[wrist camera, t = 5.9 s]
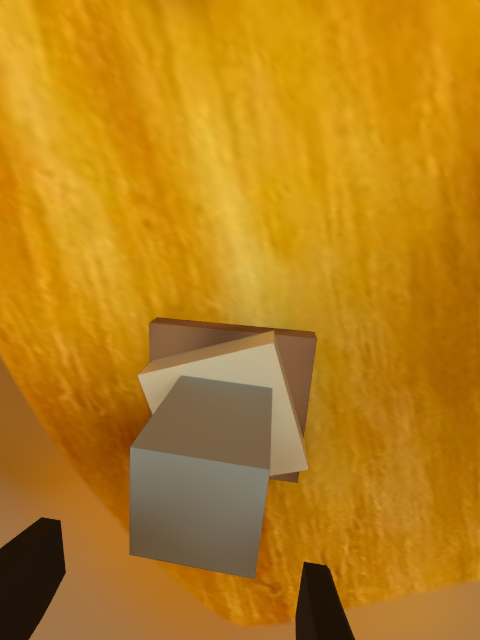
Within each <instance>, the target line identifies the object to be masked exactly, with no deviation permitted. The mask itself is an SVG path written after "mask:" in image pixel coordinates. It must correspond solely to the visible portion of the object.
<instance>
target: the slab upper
mask: <svg viewBox="0 0 480 640" xmlns="http://www.w3.org/2000/svg"><path fill="white" fill-rule="evenodd" d="M181 375H183V376H190V377H197V378H204V379H211V380H218V381H225V382H233V383H240V384H247V385H254V386H261V387H268V388H272V421H271V455H270V474H269V476H273V475H279V474H286V473H292V472H298V471H304V470H309V468H308V461H307V454H306V447H305V442H304V438H303V435H302V431H301V428H300V424H299V420H298V417H297V413H296V409H295V406H294V402H293V398H292V395H291V391H290V388H289V384H288V380H287V377H286V373H285V369H284V366H283V362H282V358H281V355H280V351H279V348H278V344H277V340H276V337H275V333H274V331H270V332H266V333H262V334H258V335H254V336H250V337H245V338H241V339H237V340H233V341H229V342H225V343H221V344H217V345H213V346H209V347H205V348H201V349H197V350H192V351H188V352H184V353H180V354H176V355H172V356H168V357H164V358H160V359H156V360H152V361H151V362H150V363H149V364H148V365H147V366H146V367H145V368H144V369H143V370H142V371H141V372H140V373H139V374H138V375H137V376H138V378H139V381H140V383H141V386H142V389H143V391H144V394H145V396H146V399H147V401H148V404H149V407H150V409H151V412H152V414H154V413H155V411H156V410H157V408H158V407H159V406H160V404H161V403H162V401H163V400H164V399H165V397H166V396H167V394H168V393H169V391H170V390H171V389H172V387H173V386H174V384H175V383H176V382H177V380H178V379H179V377H180V376H181Z"/></svg>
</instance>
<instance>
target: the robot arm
mask: <svg viewBox="0 0 480 640" xmlns="http://www.w3.org/2000/svg"><path fill="white" fill-rule="evenodd" d="M65 573H66V571H65V561H64V551H63V541H62V531H61V521H60V520H55V519H49V518H43V517H42V518H40V519H39V520H37V521H36V522H35V523H33V524H32V525H31V526H29V527H28V528H27V529H26V530H24V531H23V532H21V533H20V534H19V535H17V536H16V537H15V538H13V539H12V540H11V541H10V542H9V543H7V544H6V545H4V546H3V547H2V548H1V549H0V640H29V638H30V637H31V635H32V633H33V632H34V630H35V629H36V627H37V625H38V624H39V622H40V621H41V619H42V617H43V616H44V614H45V611H46V610H47V608H48V606H49V604H50V602H51V600H52V599H53V596H54V595H55V593H56V590H57V589H58V587H59V585H60V583H61V581H62V579H63V577H64V575H65ZM296 640H355V638H354V636H353V633H352V631H351V628H350V626H349V623H348V620H347V618H346V615H345V613H344V610H343V607H342V604H341V602H340V599H339V596H338V593H337V590H336V587H335V584H334V581H333V578H332V575H331V572H330V569H329V568H328V567H327V566H326V565H320V564H314V563H309V562H304V565H303V571H302V577H301V584H300V590H299V597H298V603H297V609H296Z"/></svg>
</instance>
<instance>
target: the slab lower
mask: <svg viewBox="0 0 480 640" xmlns="http://www.w3.org/2000/svg"><path fill="white" fill-rule="evenodd" d="M270 331H274V333H275V337H276V340H277V344H278V348H279V351H280V355H281V358H282V362H283V366H284V369H285V373H286V377H287V380H288V384H289V388H290V391H291V395H292V398H293V402H294V406H295V409H296V413H297V417H298V420H299V424H300V428H301V431H302V435H303V438H304V431H305V423H306V416H307V408H308V401H309V393H310V386H311V378H312V371H313V363H314V356H315V348H316V341H317V338H316V335H315V333H314V332H309V331H298V330H287V329H276V328H265V327H255V326H244V325H233V324H222V323H211V322H201V321H190V320H179V319H168V318H156V319H155V320H153V321H151V322H150V323H149V339H150V362H151V361H152V360H156V359H160V358H164V357H168V356H172V355H176V354H180V353H184V352H188V351H192V350H197V349H201V348H205V347H209V346H213V345H217V344H221V343H225V342H229V341H233V340H237V339H241V338H245V337H250V336H254V335H258V334H262V333H266V332H270ZM150 415H151V417H152V415H153V414H152V412H151V409H150ZM298 476H299V471H298V472H292V473H286V474H279V475H273V476H269V479H274V480H281V481H289V482H296V483H298Z"/></svg>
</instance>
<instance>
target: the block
mask: <svg viewBox="0 0 480 640" xmlns="http://www.w3.org/2000/svg"><path fill="white" fill-rule="evenodd" d="M271 421H272V388H268V387H261V386H254V385H247V384H240V383H233V382H225V381H218V380H211V379H204V378H197V377H190V376H183V375H181V376H180V377H179V379H178V380H177V382H176V383H175V384H174V386H173V387H172V389H171V390H170V391H169V393H168V394H167V396H166V397H165V399H164V400H163V401H162V403H161V404H160V406H159V407H158V408H157V410H156V411H155V413H154V414H153V415H152V417H151V418H150V420H149V421H148V422H147V424H146V425H145V427H144V428H143V429H142V431H141V432H140V434H139V435H138V436H137V438H136V439H135V441H134V442H133V444H132V445H131V446H130V555H133V556H139V557H144V558H149V559H154V560H159V561H164V562H169V563H175V564H180V565H185V566H190V567H195V568H200V569H205V570H211V571H216V572H221V573H226V574H231V575H236V576H241V577H247V578H252V579H255V572H256V565H257V558H258V551H259V544H260V537H261V530H262V523H263V516H264V509H265V502H266V495H267V488H268V481H269V474H270V455H271Z"/></svg>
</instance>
